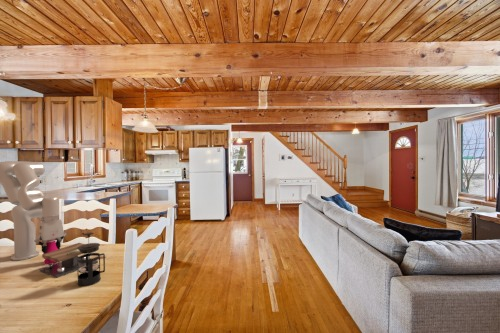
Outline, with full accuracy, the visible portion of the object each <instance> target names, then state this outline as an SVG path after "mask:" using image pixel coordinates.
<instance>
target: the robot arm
mask: <svg viewBox="0 0 500 333" xmlns="http://www.w3.org/2000/svg"><path fill="white" fill-rule="evenodd" d="M44 173H45V167H44V165H43V164H42V163H40V162H39V161H37V162H36V161H29V160H28V161H25V160H24V161H23V160H19V161H18V160H17V161H15V160H11V161H10V160H9V161H6V160H5V161H1V162H0V185H1V186H2V188H3V189H4V192H5V194H6V197H7V199H8V201H9V202H10V203H11V204H12V205H15V206H13V207H12V208H11V212H10V213H11V218H12V223H13V242H14V243H13V244H14V245H13V247H14V248H13V249H14V252H13V253H14V254H12V255H11V257H10V260H11V261H24V260H28V259H32V258H35V257H37V256H39V255H40V251H39V250H37V244H38V245H40V246H41V252H42V254H43V253H47V246H46V243H47V241H48V240H52V239H56V242H55V243H56V247H57V248H58V249H61V247H62V246H61V245H62V241H63V239H64V238H65V237H66V235H68V234H67V233H66V232H65V231H64V226H63V220H62V219H60V198H59V196H56V195H55V196H52V195H50V194H48V195H47V194H46V195H45V194H44V192H43V191H42V190H41V189H40V188H38V186H39V185H41V179H40V178H39V177H40V176H42V175H44ZM37 218H39V220H38V221H39V222H40V224H39V230H38V236H37V235H36V234H37V233H36V232H37V231H36V229H37V228H36V224H35V222H33V221H32V220H33V219H37ZM53 234H54V236H53Z"/></svg>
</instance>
